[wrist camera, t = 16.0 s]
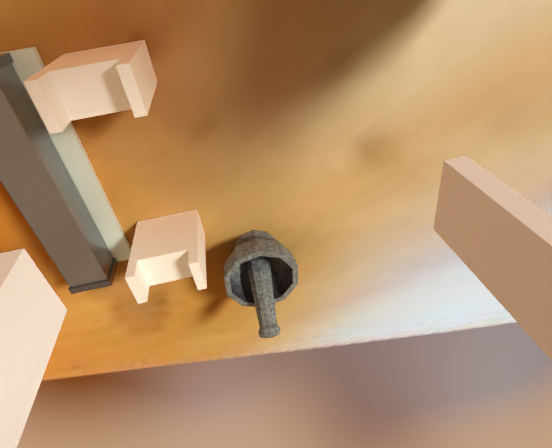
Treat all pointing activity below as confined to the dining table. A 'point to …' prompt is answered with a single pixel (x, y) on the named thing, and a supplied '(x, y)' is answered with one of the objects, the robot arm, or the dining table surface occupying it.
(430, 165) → the dining table surface
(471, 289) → the dining table surface
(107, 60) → the beige bridge block
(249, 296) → the mortar and pestle
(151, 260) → the beige u-shaped block
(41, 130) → the rail
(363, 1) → the dining table surface
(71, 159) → the mat
